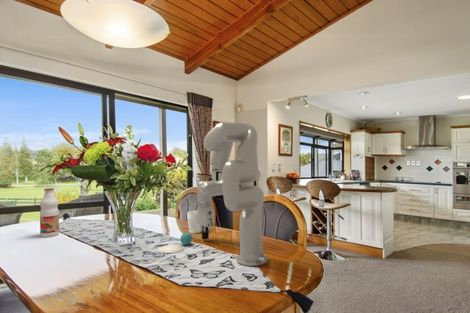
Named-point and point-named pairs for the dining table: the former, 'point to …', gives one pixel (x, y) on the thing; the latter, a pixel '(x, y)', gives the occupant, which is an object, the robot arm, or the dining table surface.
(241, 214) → the robot arm
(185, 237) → the ball
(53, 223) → the fruit juice
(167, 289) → the dining table surface
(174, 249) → the cream rounded object
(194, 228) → the cup
